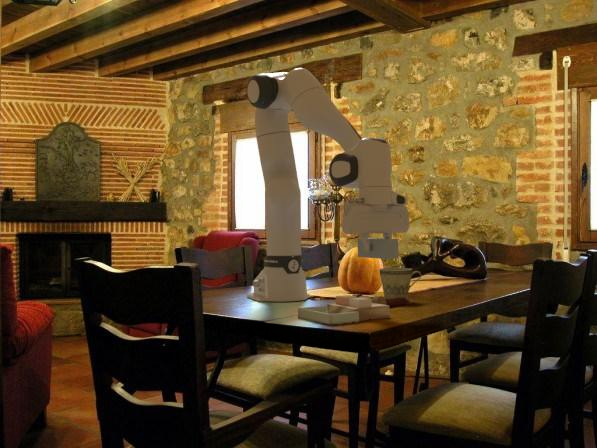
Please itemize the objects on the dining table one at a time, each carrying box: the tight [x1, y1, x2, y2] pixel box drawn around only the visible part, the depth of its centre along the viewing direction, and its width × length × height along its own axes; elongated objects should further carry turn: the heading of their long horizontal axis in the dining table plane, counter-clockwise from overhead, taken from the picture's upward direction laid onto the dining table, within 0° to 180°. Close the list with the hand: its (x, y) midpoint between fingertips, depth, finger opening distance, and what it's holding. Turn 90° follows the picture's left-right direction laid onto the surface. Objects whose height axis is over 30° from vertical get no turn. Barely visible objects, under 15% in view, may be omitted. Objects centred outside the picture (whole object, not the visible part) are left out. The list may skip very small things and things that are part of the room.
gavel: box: [351, 293, 412, 308], centre depth 176 cm, size 21×5×10 cm
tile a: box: [335, 294, 357, 305], centre depth 160 cm, size 4×4×2 cm
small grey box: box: [357, 237, 399, 260], centre depth 161 cm, size 12×4×5 cm, turn 32°
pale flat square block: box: [326, 302, 391, 322], centre depth 158 cm, size 12×11×3 cm
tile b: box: [349, 297, 372, 308], centre depth 155 cm, size 4×4×2 cm
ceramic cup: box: [378, 267, 422, 300], centre depth 189 cm, size 13×10×10 cm
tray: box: [297, 305, 360, 326], centre depth 153 cm, size 14×8×2 cm, turn 32°
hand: (376, 250), depth 161 cm, fingers closed on small grey box, 4 cm apart
